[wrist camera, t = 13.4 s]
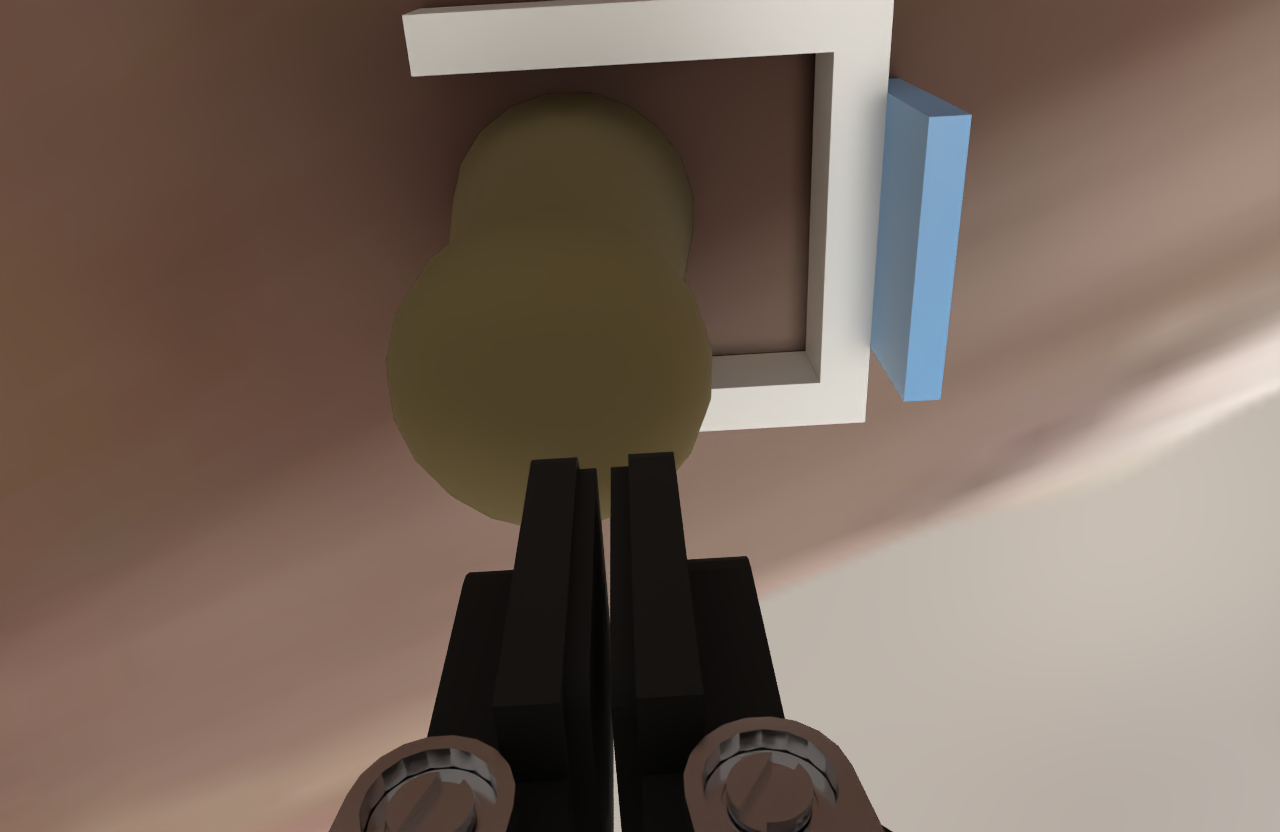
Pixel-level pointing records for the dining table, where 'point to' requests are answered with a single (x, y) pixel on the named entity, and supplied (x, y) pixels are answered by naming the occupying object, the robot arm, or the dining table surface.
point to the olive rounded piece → (554, 307)
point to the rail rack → (840, 182)
